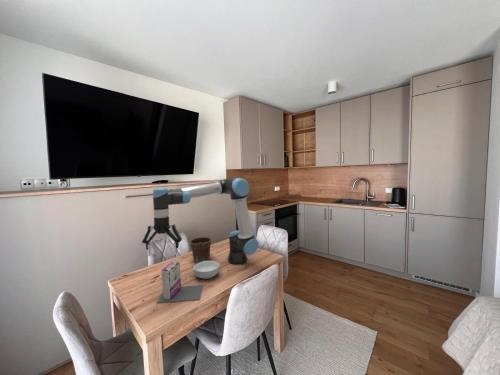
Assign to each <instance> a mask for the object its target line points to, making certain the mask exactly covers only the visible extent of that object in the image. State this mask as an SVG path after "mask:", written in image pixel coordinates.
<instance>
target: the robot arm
mask: <svg viewBox="0 0 500 375" xmlns="http://www.w3.org/2000/svg"><path fill="white" fill-rule="evenodd" d="M152 192H153V193H152V202H153V203H152V204H153V225H152V224H150V225H148V226H147V231H146V233H145V235H144V237H143V239H142V241H141V242H142V244H145V249H146V250H147V255H148V256H147V257H150V256H152V242H151V241H152V240H153V239H154V237H155V236H156V235H157V234H158V235H161V234H162V235H165V234H166V235H167V236H168V237H169V238H171V239H172V241H173V242H174V243H173V253H174V254H173V255H174V256H176V255H177V254H178V249H179V243H181V241H182V240H183V239H182V236H181V235H180V233H179V231H178V230H177V228H176V224H175V223H174V224H171V225H170V216H169V215H170V213H169V212H170V211H169V209H170V208H169V207H170V206H172V205H173V206H174V205H185V204H189V203H190V202H191V199H194V198H200V197H206V196H210V195H224V194H225V195H230V200H231V201H233V205H234V206H233V207H234V211H235V216H236V222H237V228H238V230H232V231H230V233H229V234H228V238H229V242H228V244H229V252H228V256H227V263H228V264H230V265H235V266H237V265H243V264H245V263H247V262H248V256H247V255H249V256H250V255H253V254H255V253H256V251H257V250H258V248H259V241H258V239H256V238H255V233H254V232H253V231H252V228H251V222H250V216H249V209H248V204H247V198H248V196H249V192H250V184H249V182H248V181H247V180H246V179H245V178H240V177H234V178H233V177H229V178H225V179H224V178H223V179H221V180H216V181H215V182H211V183H206V184H200V185H193V186H187V187H186V186H185V187H182V188H175V189H174V188H171V189H169V188H167V187H157V188H154V189H153V191H152ZM153 229H154V232H153V233H152V235H151V234H150V233H151V232H152V230H153ZM170 229H171V230H172V231H171V230H170ZM149 236H150V237H149Z"/></svg>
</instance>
